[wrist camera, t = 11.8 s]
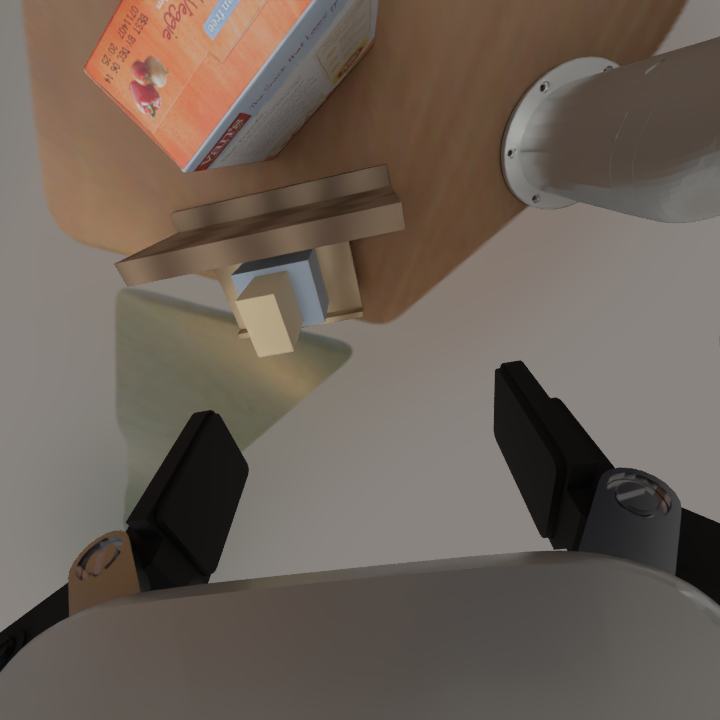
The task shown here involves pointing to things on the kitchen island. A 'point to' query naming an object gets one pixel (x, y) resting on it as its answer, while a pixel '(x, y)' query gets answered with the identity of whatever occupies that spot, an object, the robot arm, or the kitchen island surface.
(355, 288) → the wooden toy bench
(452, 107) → the kitchen island surface
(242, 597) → the robot arm
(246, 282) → the stacked toy blocks
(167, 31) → the cracker box
